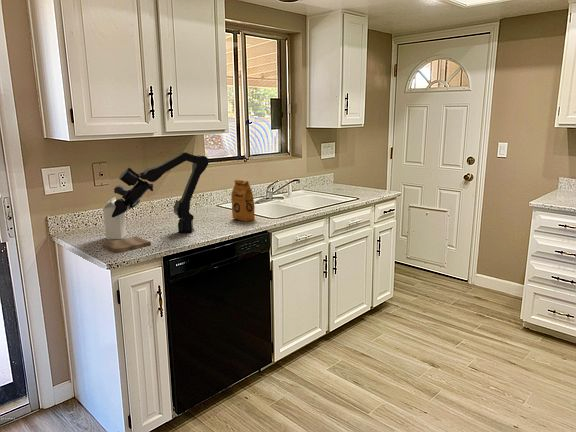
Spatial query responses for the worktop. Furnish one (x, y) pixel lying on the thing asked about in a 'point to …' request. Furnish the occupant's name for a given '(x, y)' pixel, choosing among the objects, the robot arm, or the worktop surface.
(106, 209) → the milk carton
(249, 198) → the coffee package
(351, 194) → the worktop surface
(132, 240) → the cutting board
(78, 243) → the worktop surface
